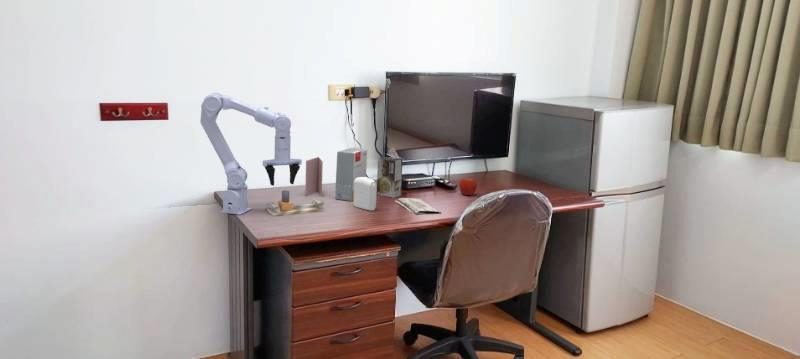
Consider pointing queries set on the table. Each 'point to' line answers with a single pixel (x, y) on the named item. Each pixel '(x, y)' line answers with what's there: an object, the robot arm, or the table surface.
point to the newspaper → (416, 205)
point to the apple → (468, 186)
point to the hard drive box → (349, 171)
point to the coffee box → (389, 177)
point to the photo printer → (364, 193)
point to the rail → (296, 208)
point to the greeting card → (313, 176)
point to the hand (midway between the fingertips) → (282, 184)
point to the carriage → (285, 201)
